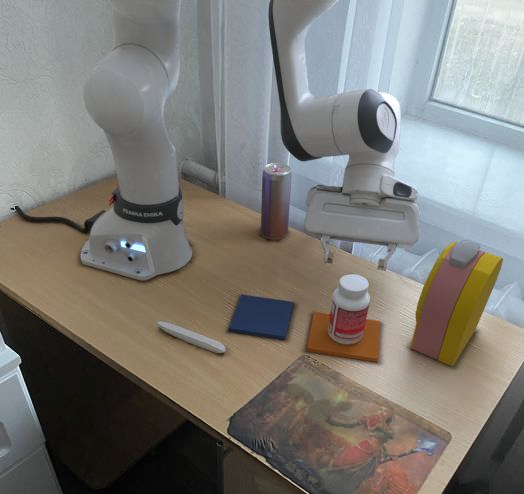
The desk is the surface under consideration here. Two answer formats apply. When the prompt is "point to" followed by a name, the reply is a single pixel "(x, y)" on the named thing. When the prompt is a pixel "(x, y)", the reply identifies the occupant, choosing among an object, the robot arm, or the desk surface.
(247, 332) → the blue mat
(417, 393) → the desk surface
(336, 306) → the pill bottle
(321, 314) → the amber mat
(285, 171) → the beverage can
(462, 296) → the alarm clock
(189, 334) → the pen
